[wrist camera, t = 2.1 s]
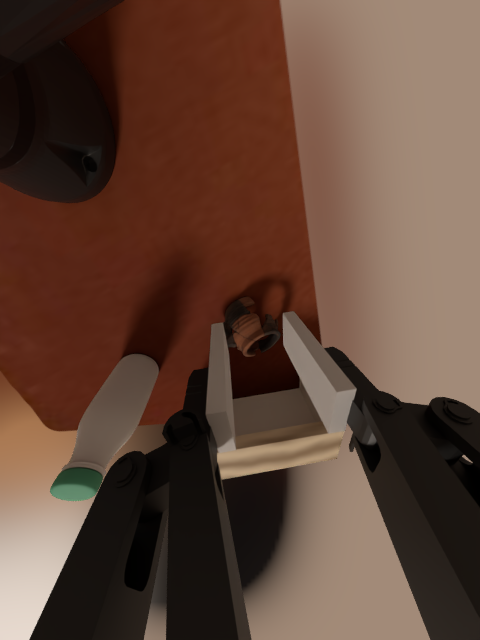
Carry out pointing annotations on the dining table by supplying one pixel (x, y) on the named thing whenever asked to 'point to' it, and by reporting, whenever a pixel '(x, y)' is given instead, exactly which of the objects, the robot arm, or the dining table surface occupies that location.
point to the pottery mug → (249, 328)
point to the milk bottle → (106, 426)
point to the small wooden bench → (277, 434)
